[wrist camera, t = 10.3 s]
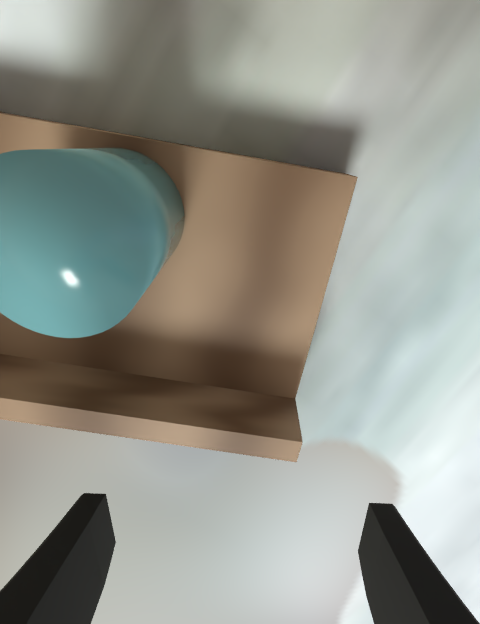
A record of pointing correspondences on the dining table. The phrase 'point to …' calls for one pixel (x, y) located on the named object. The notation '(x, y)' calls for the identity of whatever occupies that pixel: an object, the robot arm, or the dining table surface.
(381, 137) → the dining table surface
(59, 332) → the teal round canister
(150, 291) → the walnut shelf
